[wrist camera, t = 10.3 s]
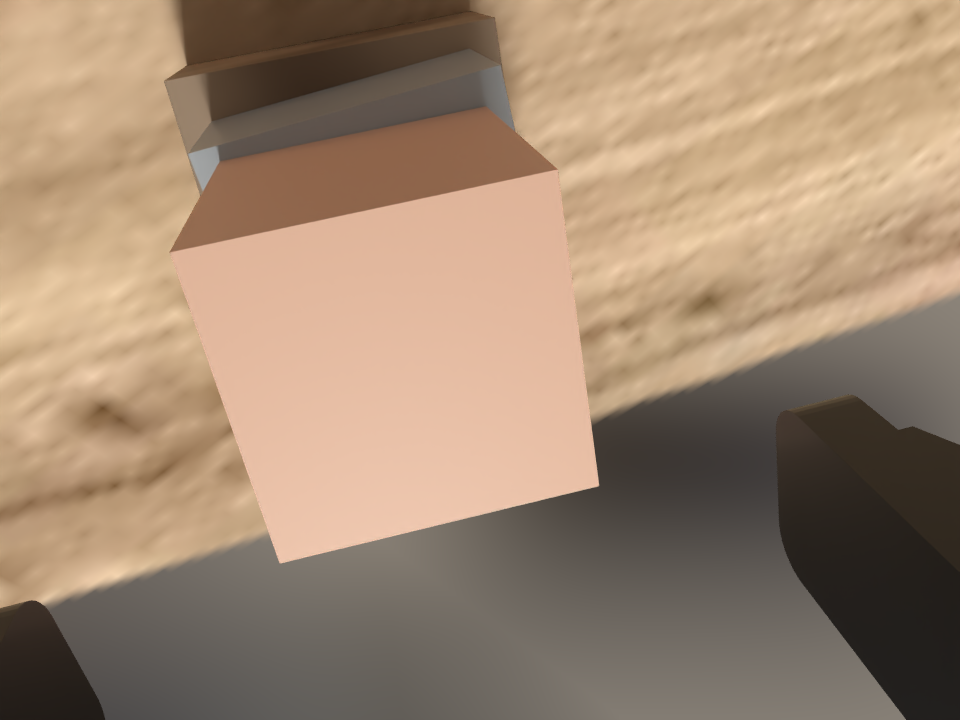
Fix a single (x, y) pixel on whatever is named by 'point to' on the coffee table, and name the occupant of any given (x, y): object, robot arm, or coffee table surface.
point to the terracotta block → (391, 328)
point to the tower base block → (316, 68)
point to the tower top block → (357, 108)
